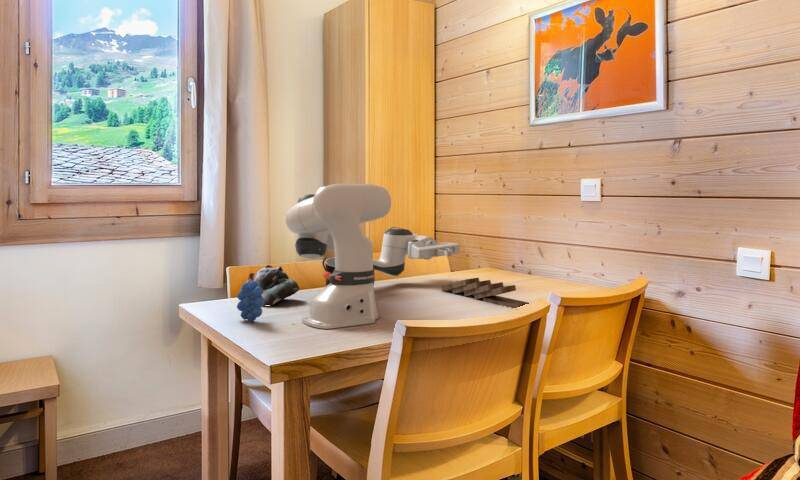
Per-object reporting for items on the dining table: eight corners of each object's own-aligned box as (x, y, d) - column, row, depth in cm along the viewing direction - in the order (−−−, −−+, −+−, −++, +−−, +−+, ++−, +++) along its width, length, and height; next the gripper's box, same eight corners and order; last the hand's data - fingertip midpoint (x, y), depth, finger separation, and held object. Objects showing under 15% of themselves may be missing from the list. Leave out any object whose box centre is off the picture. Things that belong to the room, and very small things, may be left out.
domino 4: (474, 299, 190) (501, 293, 177) (473, 294, 190) (500, 287, 177) (488, 296, 192) (516, 290, 179) (487, 291, 193) (515, 284, 180)
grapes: (276, 322, 158) (275, 280, 157) (256, 326, 153) (255, 283, 152) (251, 316, 166) (250, 276, 165) (231, 320, 161) (230, 279, 159)
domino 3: (464, 296, 194) (488, 290, 181) (463, 291, 194) (487, 284, 181) (479, 293, 197) (503, 287, 184) (477, 288, 197) (502, 282, 184)
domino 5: (482, 302, 186) (517, 311, 174) (482, 297, 186) (517, 305, 174) (495, 300, 190) (529, 308, 178) (495, 295, 190) (530, 302, 178)
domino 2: (452, 293, 199) (477, 287, 186) (451, 288, 199) (475, 282, 186) (466, 291, 202) (491, 285, 189) (465, 286, 202) (490, 279, 189)
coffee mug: (348, 291, 206) (351, 267, 202) (325, 292, 203) (328, 267, 199) (341, 278, 216) (343, 254, 212) (319, 278, 213) (321, 254, 209)
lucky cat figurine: (264, 308, 175) (245, 269, 176) (255, 316, 185) (237, 278, 186) (305, 290, 183) (287, 252, 184) (295, 298, 193) (278, 262, 194)
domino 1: (442, 291, 204) (465, 284, 191) (441, 286, 204) (464, 279, 191) (455, 289, 207) (479, 282, 194) (454, 284, 207) (478, 277, 194)
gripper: (445, 252, 222) (470, 258, 211) (404, 258, 209) (428, 265, 198) (446, 237, 220) (470, 242, 210) (405, 242, 208) (429, 247, 197)
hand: (450, 253), depth 204 cm, fingers closed
